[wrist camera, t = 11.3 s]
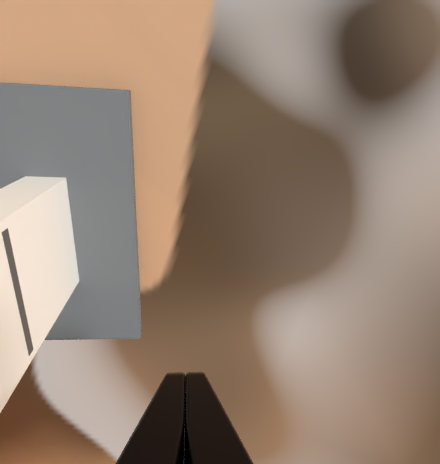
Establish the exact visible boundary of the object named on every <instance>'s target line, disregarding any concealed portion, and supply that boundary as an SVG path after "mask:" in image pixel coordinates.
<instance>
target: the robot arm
mask: <svg viewBox="0 0 440 464" xmlns="http://www.w3.org/2000/svg"><path fill="white" fill-rule="evenodd" d="M184 428H185V437H184ZM116 464H253V462H252V460H251V458H250V456H249V454H248V453H247V451H246V449H245V447H244V445H243V443H242V441H241V440H240V438H239V436H238V434H237V432H236V430H235V428H234V426H233V425H232V423H231V421H230V419H229V417H228V415H227V414H226V412H225V410H224V408H223V406H222V404H221V402H220V401H219V399H218V397H217V395H216V393H215V391H214V389H213V388H212V386H211V384H210V382H209V380H208V378H207V376H206V375H205V373H203V372H188V373H187V374H186V384H185V374H184V373H182V372H177V373H176V372H175V373H167V375H166V376H165V377H164V379H163V381H162V383H161V384H160V386H159V388H158V389H157V391H156V393H155V395H154V397H153V398H152V401H151V402H150V404H149V405H148V407H147V409H146V411H145V413H144V414H143V416H142V418H141V420H140V421H139V423H138V425H137V427H136V428H135V430H134V432H133V434H132V436H131V437H130V439H129V441H128V443H127V444H126V446H125V448H124V450H123V451H122V453H121V455H120V457H119V459H118V460H117V462H116Z"/></svg>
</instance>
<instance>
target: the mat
mask: <svg viewBox="0 0 440 464" xmlns="http://www.w3.org/2000/svg"><path fill="white" fill-rule="evenodd" d="M25 176H34V177H63V178H66V181H67V189H68V197H69V205H70V212H71V220H72V228H73V236H74V243H75V251H76V259H77V267H78V274H79V282H78V284H77V286H76V287H75V289H74V291H73V293H72V294H71V296H70V298H69V299H68V301H67V303H66V304H65V306H64V308H63V309H62V311H61V313H60V314H59V316H58V318H57V319H56V321H55V323H54V324H53V326H52V328H51V329H50V331H49V333H48V334H47V336H46V338H45V339H44V340H65V339H66V340H71V339H140V336H141V332H142V329H141V309H140V308H141V307H140V286H139V265H138V243H137V222H136V201H135V179H134V158H133V137H132V115H131V94H130V90H116V89H99V88H83V87H66V86H49V85H32V84H16V83H0V189H1V188H3V187H5V186H7V185H9V184H11V183H13V182H15V181H17V180H19V179H21V178H23V177H25Z"/></svg>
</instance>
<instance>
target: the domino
mask: <svg viewBox="0 0 440 464" xmlns="http://www.w3.org/2000/svg"><path fill="white" fill-rule="evenodd" d="M78 282H79V274H78V267H77V259H76V251H75V243H74V236H73V228H72V220H71V212H70V205H69V197H68V189H67V181H66V178H63V177H34V176H25V177H23V178H21V179H19V180H17V181H15V182H13V183H11V184H9V185H7V186H5V187H3V188H1V189H0V413H1V411H2V410H3V408H4V406H5V405H6V403H7V401H8V400H9V398H10V396H11V394H12V393H13V391H14V389H15V388H16V386H17V384H18V383H19V381H20V379H21V378H22V376H23V374H24V373H25V371H26V369H27V368H28V366H29V364H30V363H31V361H32V359H33V358H34V356H35V354H36V353H37V351H38V349H39V348H40V346H41V344H42V343H43V341H44V339H45V338H46V336H47V334H48V333H49V331H50V329H51V328H52V326H53V324H54V323H55V321H56V319H57V318H58V316H59V314H60V313H61V311H62V309H63V308H64V306H65V304H66V303H67V301H68V299H69V298H70V296H71V294H72V293H73V291H74V289H75V287H76V286H77V284H78Z"/></svg>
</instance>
